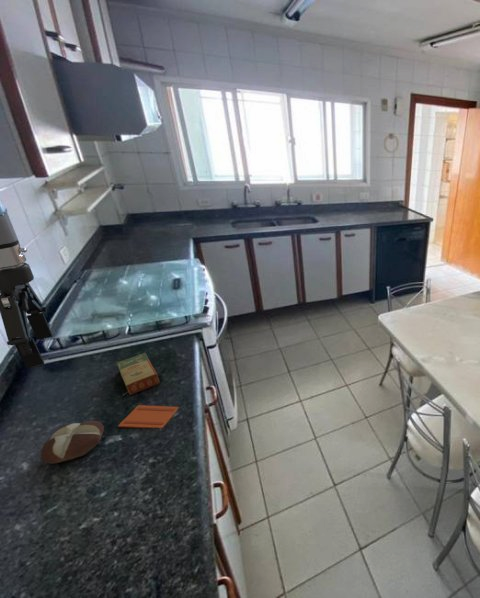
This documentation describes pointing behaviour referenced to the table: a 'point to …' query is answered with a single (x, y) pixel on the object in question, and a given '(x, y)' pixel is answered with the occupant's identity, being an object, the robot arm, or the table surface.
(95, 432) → the bread
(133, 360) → the carton
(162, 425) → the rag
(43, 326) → the robot arm
